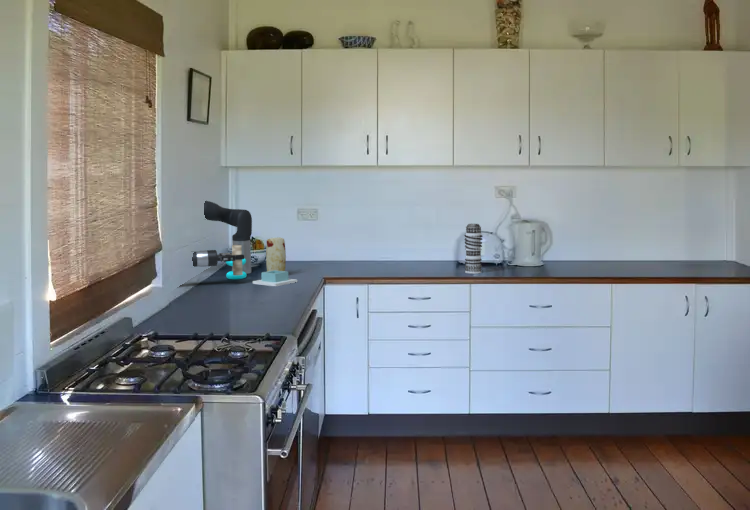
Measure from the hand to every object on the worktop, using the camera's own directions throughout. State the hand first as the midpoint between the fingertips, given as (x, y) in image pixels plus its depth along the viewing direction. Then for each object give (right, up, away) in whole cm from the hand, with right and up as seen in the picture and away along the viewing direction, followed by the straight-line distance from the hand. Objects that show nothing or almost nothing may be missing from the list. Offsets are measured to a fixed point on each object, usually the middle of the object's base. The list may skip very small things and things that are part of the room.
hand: (242, 256), depth 349 cm
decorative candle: (+113, -9, +31) cm, 118 cm away
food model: (+13, -11, +22) cm, 28 cm away
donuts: (-7, -11, +19) cm, 23 cm away
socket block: (+15, -13, +3) cm, 20 cm away
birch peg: (-2, -9, 0) cm, 9 cm away
